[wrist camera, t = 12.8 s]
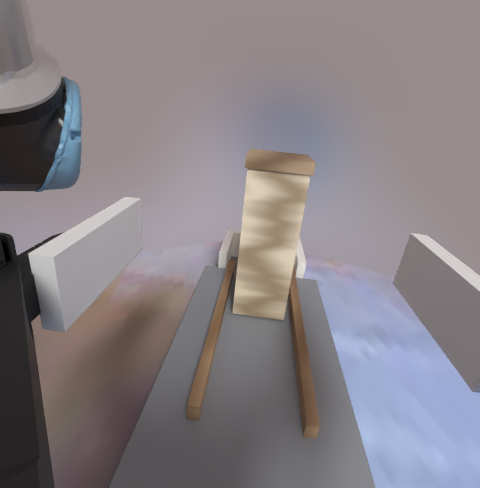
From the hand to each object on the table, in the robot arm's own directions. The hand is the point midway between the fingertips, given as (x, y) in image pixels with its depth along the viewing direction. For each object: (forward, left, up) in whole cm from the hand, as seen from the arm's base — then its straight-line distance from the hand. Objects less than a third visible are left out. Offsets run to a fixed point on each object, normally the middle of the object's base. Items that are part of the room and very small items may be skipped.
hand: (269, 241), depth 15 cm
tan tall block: (+1, +15, -12) cm, 19 cm away
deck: (+1, +7, -15) cm, 17 cm away
